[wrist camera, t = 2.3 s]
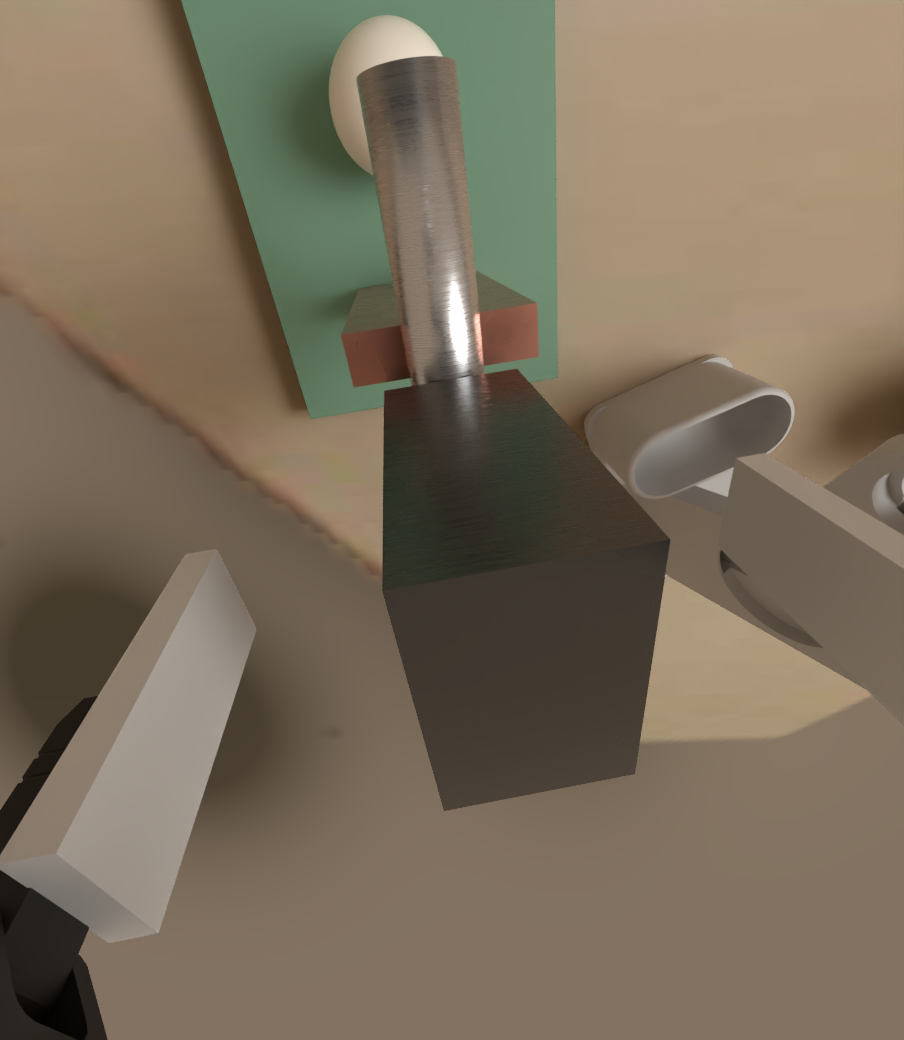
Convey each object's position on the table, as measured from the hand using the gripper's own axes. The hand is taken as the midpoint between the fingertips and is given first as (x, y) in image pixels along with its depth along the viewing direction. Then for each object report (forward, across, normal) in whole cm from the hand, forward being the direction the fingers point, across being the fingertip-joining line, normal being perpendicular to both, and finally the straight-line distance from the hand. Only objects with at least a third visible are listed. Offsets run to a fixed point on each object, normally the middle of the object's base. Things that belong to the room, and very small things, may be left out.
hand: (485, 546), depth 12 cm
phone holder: (+20, +17, -11) cm, 28 cm away
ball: (+15, 0, +11) cm, 19 cm away
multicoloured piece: (+17, 0, +4) cm, 18 cm away
